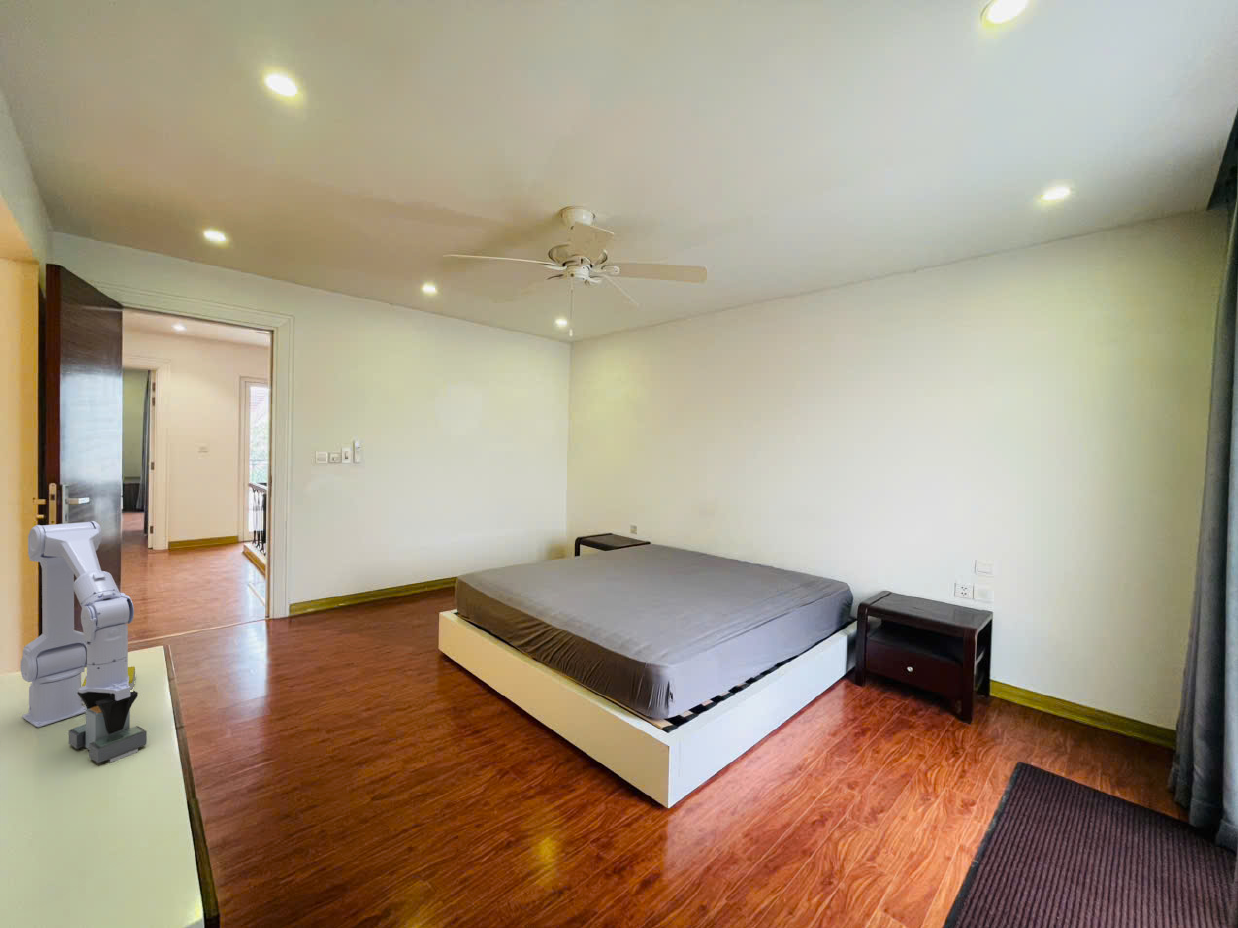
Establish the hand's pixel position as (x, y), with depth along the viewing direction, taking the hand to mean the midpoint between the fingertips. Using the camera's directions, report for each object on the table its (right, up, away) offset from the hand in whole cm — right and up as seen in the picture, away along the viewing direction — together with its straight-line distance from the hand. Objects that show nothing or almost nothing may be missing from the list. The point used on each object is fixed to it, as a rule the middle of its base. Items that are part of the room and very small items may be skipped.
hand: (107, 726), depth 99 cm
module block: (0, -4, 0) cm, 3 cm away
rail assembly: (0, -4, 0) cm, 4 cm away
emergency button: (-25, -4, +25) cm, 36 cm away
